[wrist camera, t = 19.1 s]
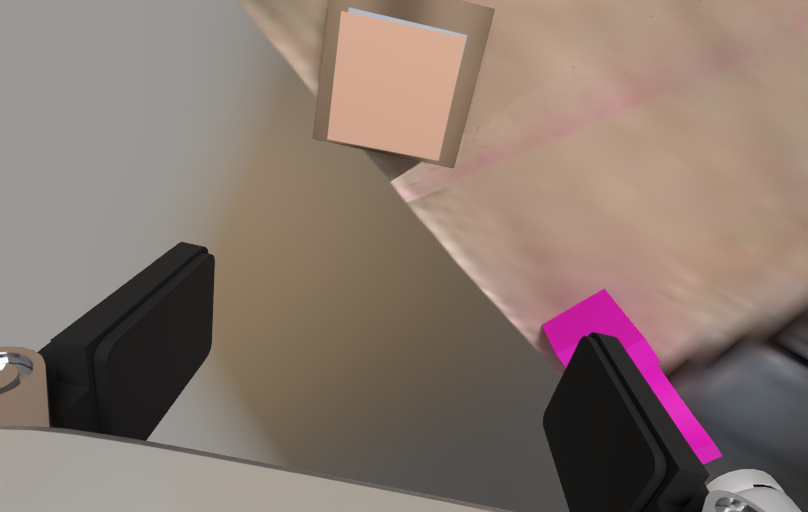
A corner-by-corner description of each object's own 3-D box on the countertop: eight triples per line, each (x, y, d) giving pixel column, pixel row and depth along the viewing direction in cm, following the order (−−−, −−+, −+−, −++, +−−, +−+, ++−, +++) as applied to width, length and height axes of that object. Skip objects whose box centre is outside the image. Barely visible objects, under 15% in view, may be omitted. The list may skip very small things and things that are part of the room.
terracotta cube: (433, 140, 24) (438, 160, 19) (343, 122, 23) (327, 139, 19) (454, 40, 22) (466, 37, 17) (355, 19, 21) (341, 10, 17)
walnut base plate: (487, 13, 29) (495, 9, 26) (450, 159, 33) (453, 168, 30) (339, -23, 28) (332, -30, 26) (321, 131, 32) (312, 138, 30)
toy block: (541, 323, 40) (567, 379, 33) (603, 287, 38) (645, 338, 31) (615, 420, 45) (651, 486, 38) (673, 392, 43) (722, 455, 36)
